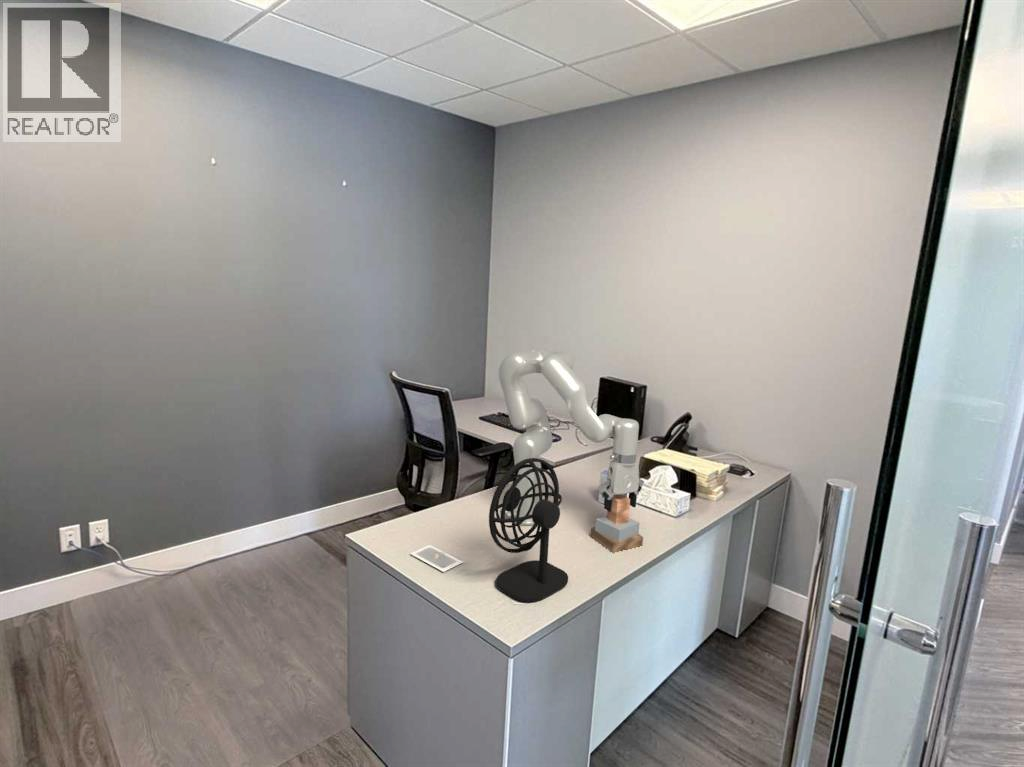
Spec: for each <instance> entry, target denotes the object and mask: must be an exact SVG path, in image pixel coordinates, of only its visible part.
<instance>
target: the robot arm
mask: <svg viewBox="0 0 1024 767" xmlns="http://www.w3.org/2000/svg"><path fill="white" fill-rule="evenodd" d="M573 369H574V361H573V359H572V357H571V356H570V355H569V354H568V353H565V352H563V351H557V350H556V351H555V350H554V351H553V350H547V349H546V350H545V349H538V348H528V349H524V350H523V349H522V350H518V351H514V352H512V353H510V354H508V355H507V356H505V358H504V359H503V360H502V361H501V363H500V365H499V367H498V379H499V382H500V387H501V389H502V393H503V394H502V395H503V398H504V402H505V406H506V409H507V414H508V419H509V422H510V424H511V426H513V428H515V429H517V430H525V429H526V431H525V432H523V433H521V434H520V435H518V437H517V438H516V439H515V440H514V443H513V445H512V446H513V447H512V453H513V460H514V465H516V464H517V463H519V462H520V461H522V460H525V459H529V458H538V459H541V456H543V454H544V453H547V451H549V450H550V449H551V448H552V445H553V433H552V430H551V426H550V422H549V418H548V413H547V410H546V408H545V406H544V404H543V403H542V402H541V401H540V400H538V399H536V398H534V397H532V398H531V397H530V395H529V389H528V387H527V385H526V383H525V381H524V380H523V377H524V376H526V375H531V374H536V373H537V374H542V376H543V377H544V378H545V379H546V380H547V382H548V383H549V384H550V385H551V386H552V387H553V389H554V390H555V391H556V392H557V394H558V395H559V396H560V397H561V399H562V400H563V401H564V402H565V405H566V408H567V410H568V413H569V416H570V417H571V419H572V421H573V423H574V424H575V426H577V428H578V430H580V432H581V433H582V434H583V435H584V437H586V438H587V439H588V440H589V441H591V442H593V443H595V444H599V443H602V442H605V441H606V440H608V439H609V438H613V441H612V454H611V455H609V459H610V461H609V465H608V469H607V470H608V473H607V481H605V482H604V483H603V484H601V485H600V484H599V486H598V490H600V493H601V494H602V495H603V497H604V504H603V509H604V510H606V512H607V511H609V512H611V510H612V500H611V498H612V497H613V495H614V494H616V495H619V494H626V493H627V494H628V498H629V499H630V506H631V507H632V508H636V507H637V496H639V494H640V492H641V490H642V489H643V488H642V487H643V486H644V483H645V480H643V479H641V478H640V469H639V462H638V461H637V453H638V452H637V450H638V441H639V432H640V431H639V430H640V424H639V421H637V420H635V419H632V418H625V417H624V418H622V417H618V416H615V415H611V414H610V413H609V414H608V413H604V414H600V415H599V416H598V415H597V414H596V413H595V411H594V410H593V408H591V406H590V404H589V402H588V400H587V399H588V398H587V388H586V385H585V383H584V382H583V381H582V380H581V379H580V378H579V377H578V375H577V374H576V372H574V370H573ZM527 464H529V463H527ZM534 464H535V465H536V467H538V468H542V463H541V462H534ZM530 469H533V468H532V467H527V468H523V469H520V470H519V472H518V475H519V474H523V473H524V472H526V471H527V470H530ZM538 473H539V472H538ZM514 474H515V473H514ZM514 474H513V475H514ZM527 476H528V477H529V478H530V479H531V480H532V481H533V483H534V485H535V484H537V479H536V475H535V472H532V473H530V474H528V475H527ZM539 476H540V481H541V482H542V476H541V474H540V473H539ZM517 478H518V477H517ZM516 487H517V488H518V489H519V490H520V493H521V496H523V495H524V494H525V493H526V491H527V490H528V489H529V488H530V487H532V485H531V483H530V481H529V480H528V479H527V478H526V477H524V478H523V479H522V480H521V481H520V482H519V483H518V484H517V485H516ZM605 488H606V489H607V490H606V491H605ZM610 492H611V493H610ZM535 493H539V490H538V486H537V487H535ZM609 493H610V494H609ZM529 494H533V489H532V490H531V491H530V492H529V493H528V495H529ZM608 494H609V495H608ZM520 501H521V500H520ZM531 502H532V497H531V498H526V499H524V501H523V504H522V506H521V509H520V515H519V517H523V516H525V515H526V514H527V512H528V510H529V508H530V505H531ZM537 502H539V496H537V497H535V501H534V505H533V508H532V510H531V512H530V514H529V515H532V512H533V509H534V507H535V505H536V504H537ZM519 503H520V502H519ZM518 506H519V504H518ZM518 506H517V507H516V508H515V509H514V518H516V516H517V510H518ZM501 510H502V509H500V511H499V514H500V515H499V516H501ZM505 517H506V518H507V519H510V518H511V511H510V512H509V511H505ZM516 523H517V522H515V524H516ZM533 525H534V522H533V520H532V518H531V519H527V520H524V521H523V522H522V523H521V524H520V526H533Z"/></svg>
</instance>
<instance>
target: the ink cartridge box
mask: <svg viewBox="0 0 1024 767" xmlns="http://www.w3.org/2000/svg"><path fill="white" fill-rule="evenodd" d="M607 473H608V469H606V470H603V471H601V472H600V475H599V476H600V477H599V486H600V485H601V484H603V483H604V482H605V481H607ZM598 490H599V489H598ZM606 490H607V489H606V488H605V491H606ZM610 493H611V492H610ZM610 493H609V494H610ZM609 494H608V495H609ZM614 495H615V494H614ZM623 495H624V496H626V497H628V493H626V494H623ZM597 502H598V503H601V504H603V505H604V497H603V495H602V494H601V493H600V490H599V491H598V500H597Z"/></svg>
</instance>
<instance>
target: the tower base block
mask: <svg viewBox="0 0 1024 767" xmlns="http://www.w3.org/2000/svg"><path fill="white" fill-rule="evenodd" d="M590 537H591V538H590V539H591V540H593V539H594V540H593V541H595V543H597V542H598V543H597V544H599V545H600V544H601V545H602V547H603V548H604V547H605V548H604V549H606V550H607V549H608V550H609V551H608V550H607V551H608V552H610V553H611V552H612V553H613V554H616V553H615V552H617V553H620V552H619V551H621V552H624V551H623V550H626V551H629V550H628V549H630V550H633V549H632V548H634V549H637V548H636V547H638V548H641V547H640V546H642V547H643V544H644V543H643V542H644V536H642V535H641V534H640V533H639V534H638V535H635V536H633V537H630V538H628V539H625V540H623V541H620V542H617V541H615V540H613V539H611V538H609V537H607V536H605V535H603V534H601V533H599V532H597V531H595V526H593V527H590ZM601 545H600V546H601ZM612 553H611V554H612Z"/></svg>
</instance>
